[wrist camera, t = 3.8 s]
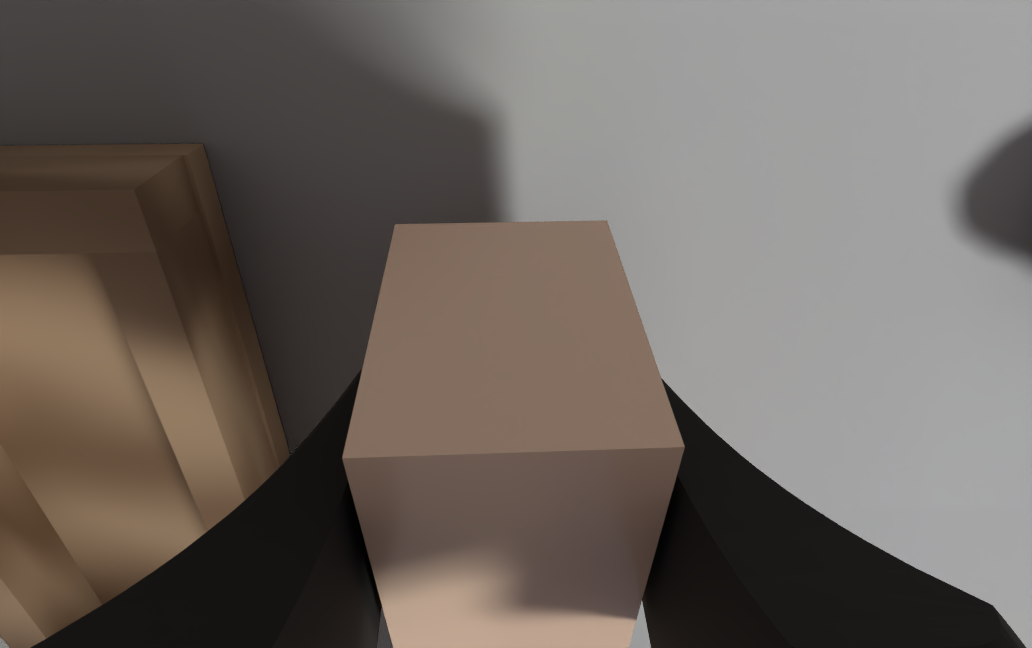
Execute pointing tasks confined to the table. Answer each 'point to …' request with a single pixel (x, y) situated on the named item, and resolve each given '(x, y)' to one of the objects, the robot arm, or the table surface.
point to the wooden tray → (118, 375)
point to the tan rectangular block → (510, 439)
